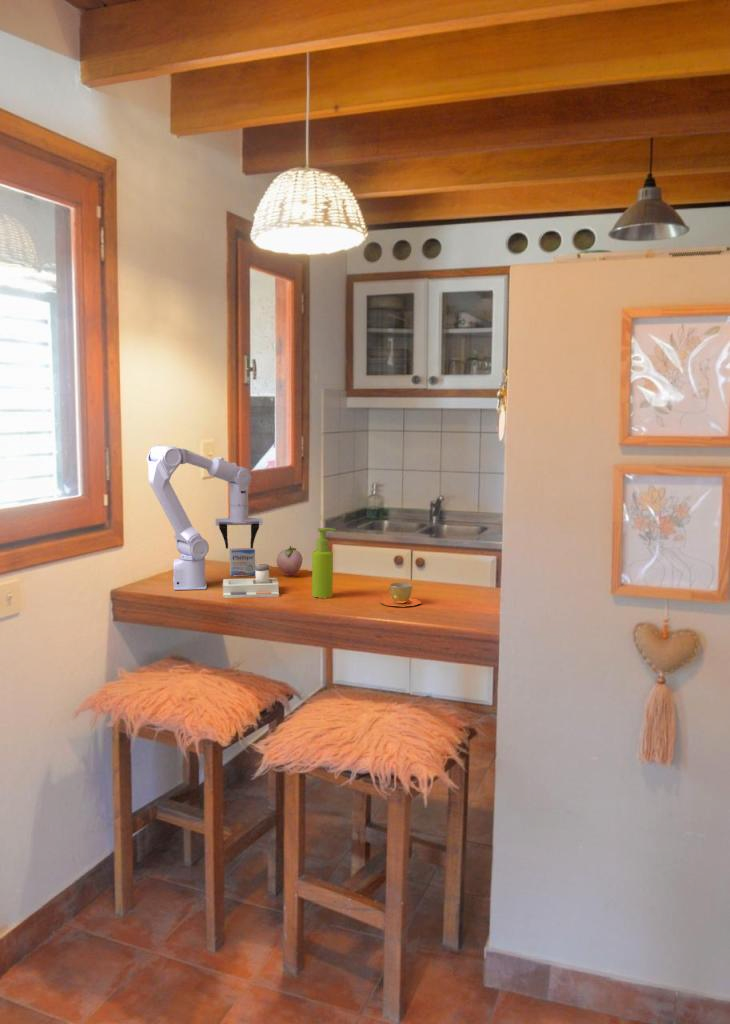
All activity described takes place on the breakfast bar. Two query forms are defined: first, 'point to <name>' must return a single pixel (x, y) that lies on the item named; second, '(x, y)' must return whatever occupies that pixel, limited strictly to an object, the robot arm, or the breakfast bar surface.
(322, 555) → the soap dispenser
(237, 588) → the socket block
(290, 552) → the decorative fruit
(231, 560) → the medicine box
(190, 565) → the robot arm
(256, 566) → the white pill bottle
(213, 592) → the breakfast bar surface
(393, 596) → the cup
